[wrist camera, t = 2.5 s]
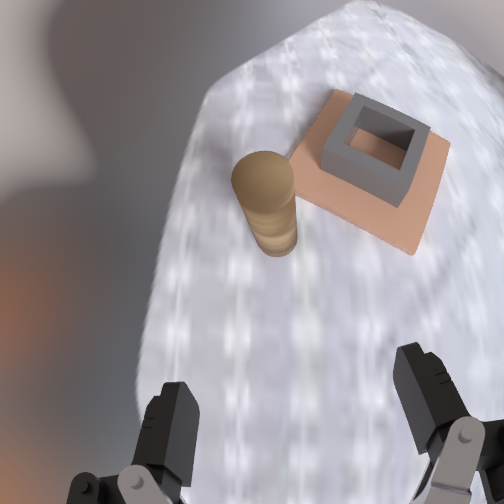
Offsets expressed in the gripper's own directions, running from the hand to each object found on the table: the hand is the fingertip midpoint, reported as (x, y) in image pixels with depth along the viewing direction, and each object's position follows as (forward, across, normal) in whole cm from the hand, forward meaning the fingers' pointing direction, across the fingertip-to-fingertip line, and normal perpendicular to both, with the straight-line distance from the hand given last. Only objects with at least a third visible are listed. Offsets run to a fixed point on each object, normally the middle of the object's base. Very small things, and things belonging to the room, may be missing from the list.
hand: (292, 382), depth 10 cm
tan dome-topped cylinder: (+21, 0, +4) cm, 21 cm away
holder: (+25, -12, -1) cm, 28 cm away
